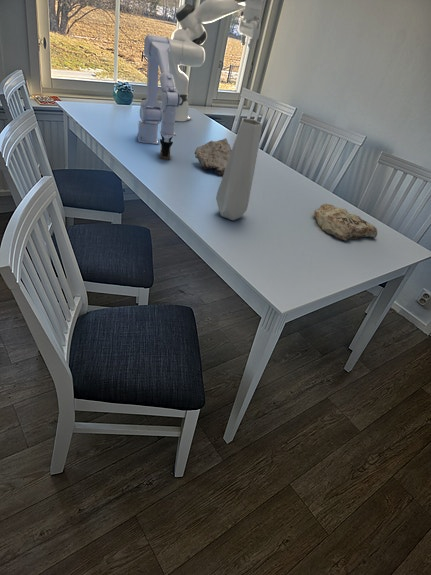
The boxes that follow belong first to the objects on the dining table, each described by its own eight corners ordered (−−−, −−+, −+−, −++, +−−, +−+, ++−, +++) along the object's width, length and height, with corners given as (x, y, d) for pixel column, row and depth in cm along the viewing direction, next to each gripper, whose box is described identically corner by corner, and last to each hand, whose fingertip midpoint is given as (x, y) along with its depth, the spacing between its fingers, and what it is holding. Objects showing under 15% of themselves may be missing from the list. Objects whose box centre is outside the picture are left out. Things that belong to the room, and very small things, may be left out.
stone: (347, 232, 131) (303, 198, 147) (341, 246, 135) (298, 211, 150) (382, 227, 141) (337, 195, 156) (375, 240, 144) (331, 207, 160)
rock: (234, 142, 173) (214, 126, 161) (245, 170, 166) (225, 155, 155) (210, 161, 180) (189, 148, 168) (219, 189, 174) (199, 176, 162)
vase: (253, 221, 137) (278, 128, 117) (226, 224, 131) (248, 127, 111) (236, 206, 144) (257, 116, 124) (210, 208, 139) (227, 114, 119)
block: (169, 159, 170) (170, 150, 167) (159, 158, 169) (160, 149, 167) (169, 156, 173) (170, 147, 171) (160, 155, 172) (161, 146, 170)
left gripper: (177, 128, 157) (173, 160, 165) (177, 118, 168) (174, 149, 176) (160, 125, 155) (157, 157, 164) (161, 116, 167) (159, 146, 175)
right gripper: (265, 19, 189) (258, 51, 197) (250, 14, 203) (244, 44, 212) (254, 17, 187) (248, 49, 195) (239, 12, 201) (234, 42, 209)
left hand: (165, 153), depth 170 cm, fingers open, 7 cm apart
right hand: (246, 46), depth 204 cm, fingers open, 8 cm apart
